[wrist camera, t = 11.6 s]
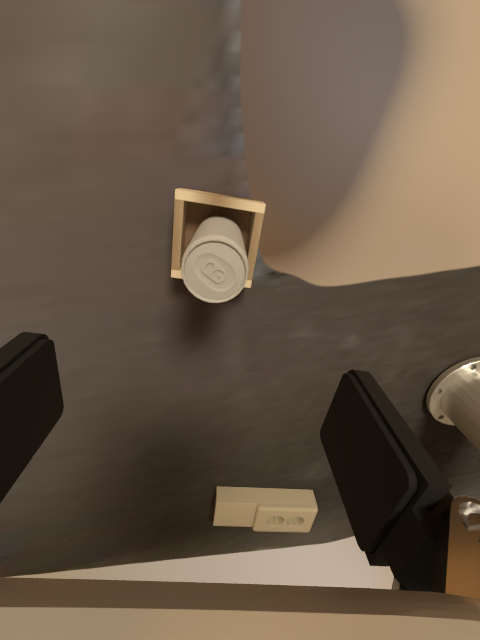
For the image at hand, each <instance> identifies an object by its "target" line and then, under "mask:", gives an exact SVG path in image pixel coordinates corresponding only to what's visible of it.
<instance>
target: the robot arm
mask: <svg viewBox="0 0 480 640" xmlns="http://www.w3.org/2000/svg"><path fill="white" fill-rule="evenodd" d="M426 406H427V409H428V411H429V412H430V413H431V415H432V416H433V417H434V418H435V419H436V420H437V421H439V422H441V423H444V424H447V425H455V426H456V427H457V428H458V429H459V430H460V431H461V432H462V433H463V434H464V435H465V436H466V438H467V439H468V440H469V441H470V442H471V443H472V444H473V445H474V446H475V447H476V448H477V450H478V451H479V452H480V357H475V358H470V359H467V360H464V361H462V362H460V363H457V364H455V365H453V366H452V367H450V368H449V369H447V370H446V371H444V372H443V373H442V374H441V375H440V376H439V377H438V378H437V379H436V380H435V381H434V382H433V384H432V385H431V387H430V389H429V391H428V394H427V398H426ZM63 408H64V405H63V398H62V392H61V386H60V379H59V373H58V366H57V360H56V353H55V347H54V342H53V341H52V340H49V338H48V337H47V335H45V334H38V333H30V332H22V333H20V334H19V335H17V336H16V337H15V338H13V339H12V340H11V341H9V342H8V343H7V344H5V345H4V346H3V347H1V348H0V503H1V501H2V500H3V499H4V497H5V496H6V494H7V493H8V491H9V490H10V489H11V487H12V486H13V484H14V483H15V481H16V480H17V479H18V477H19V476H20V474H21V473H22V471H23V470H24V469H25V467H26V466H27V464H28V463H29V461H30V460H31V459H32V457H33V456H34V454H35V453H36V451H37V450H38V449H39V447H40V446H41V444H42V443H43V441H44V440H45V439H46V437H47V436H48V434H49V433H50V431H51V430H52V429H53V427H54V426H55V424H56V423H57V421H58V420H59V419H60V417H61V415H62V412H63ZM320 437H321V441H322V444H323V447H324V450H325V453H326V456H327V458H328V461H329V464H330V467H331V470H332V473H333V476H334V478H335V481H336V484H337V487H338V490H339V493H340V495H341V498H342V501H343V504H344V507H345V510H346V512H347V515H348V518H349V521H350V524H351V527H352V530H353V532H354V535H355V538H356V541H357V544H358V545H359V547H360V549H361V550H362V551H365V553H366V556H367V559H368V561H369V564H370V566H390V568H391V571H392V573H393V575H394V580H393V585H392V590H388V589H370V588H345V587H317V586H287V585H259V584H225V583H194V582H159V581H125V580H122V581H121V580H86V579H46V578H44V579H43V578H4V577H0V640H480V500H478V499H476V498H472V497H469V496H457V497H456V498H453V496H452V495H451V494H450V492H449V490H450V489H451V487H452V486H451V484H450V483H449V481H448V480H447V479H446V477H445V476H444V475H443V473H442V472H441V470H440V469H439V468H438V466H437V465H436V464H435V462H434V461H433V459H432V458H431V457H430V455H429V454H428V452H427V451H426V450H425V448H424V447H423V446H422V444H421V443H420V441H419V440H418V439H417V437H416V436H415V434H414V433H413V432H412V430H411V429H410V428H409V426H408V425H407V423H406V422H405V421H404V419H403V418H402V417H401V415H400V414H399V412H398V411H397V410H396V408H395V407H394V405H393V404H392V403H391V401H390V400H389V399H388V397H387V396H386V394H385V393H384V392H383V390H382V389H381V387H380V386H379V385H378V383H377V382H376V381H375V379H374V378H373V376H372V375H371V374H370V373H369V372H367V371H360V370H349V371H348V373H345V374H343V376H342V378H341V380H340V383H339V385H338V388H337V390H336V393H335V395H334V398H333V400H332V403H331V405H330V408H329V410H328V413H327V415H326V418H325V420H324V423H323V425H322V427H321V431H320Z"/></svg>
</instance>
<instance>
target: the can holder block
mask: <svg viewBox="0 0 480 640" xmlns="http://www.w3.org/2000/svg"><path fill="white" fill-rule="evenodd" d="M265 206H266V204H265V203H263V202H262V201H258V200H252V199H246V198H241V197H235V196H229V195H223V194H217V193H211V192H205V191H199V190H193V189H187V188H178V189H175V206H174V226H173V247H172V267H171V277H173V278H181V279H183V278H182V273H181V262H182V258H183V254H184V253H185V251H186V249H187V247H188V245H189V244H190V242H191V240H192V238H193V236H194V235H195V233H196V231H197V229H198V228H199V226H200V224H201V223H202V222H203V221H204V220H205V219H207V218H209V217H210V216H216V215H217V216H224V217H227V218H230V219H231V220H233V221H235V223H236V224H237V225H238V226H239V228H240V230H241V233H242V237H243V242H244V246H245V250H246V254H247V258H248V264H249V274H248V278H247V281H246V284H245V286H244V287H248V288H251V282H252V277H253V271H254V266H255V260H256V255H257V250H258V244H259V239H260V233H261V228H262V222H263V217H264V212H265Z"/></svg>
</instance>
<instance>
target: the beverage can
mask: <svg viewBox="0 0 480 640" xmlns="http://www.w3.org/2000/svg"><path fill="white" fill-rule="evenodd" d="M181 273H182V278H183V281H184V284H185V285H186V287H187V289H188V290H189V291H190V292H191V293H192V294H193V295H194V296H195V297H197V298H199V299H200V300H202V301H206V302H209V303H221V302H226V301H228V300H230V299H233V298H234V297H235V296H237V295H238V294H239V293H240V292H241V290H242V289H243V288H244V286H245V284H246V281H247V278H248V274H249V264H248V258H247V254H246V250H245V246H244V242H243V237H242V233H241V230H240V228H239V226H238V225H237V224H236V223H235V221H233V220H231V219H230V218H227V217H224V216H217V215H216V216H210V217H209V218H207V219H205V220H204V221H203V222H202V223H201V224H200V226H199V228H198V229H197V231H196V233H195V235H194V236H193V238H192V240H191V242H190V244H189V245H188V247H187V249H186V251H185V253H184V254H183V258H182V262H181Z"/></svg>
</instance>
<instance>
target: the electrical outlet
mask: <svg viewBox="0 0 480 640" xmlns="http://www.w3.org/2000/svg"><path fill="white" fill-rule="evenodd" d="M317 512H318V507H317V504H316V500H315V496H314V493H313V490H301V489H273V488H246V487H218V486H217V489H216V497H215V504H214V515H213V526H247V527H253V530H254V531H265V532H309V531H310V529H311V526H312V524H313V521H314V519H315V517H316V514H317Z"/></svg>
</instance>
